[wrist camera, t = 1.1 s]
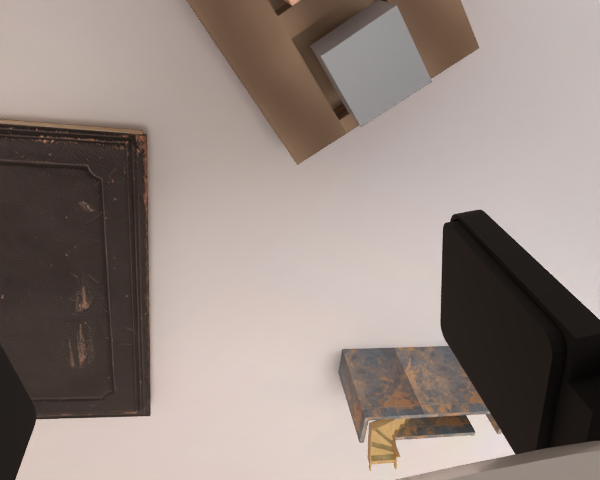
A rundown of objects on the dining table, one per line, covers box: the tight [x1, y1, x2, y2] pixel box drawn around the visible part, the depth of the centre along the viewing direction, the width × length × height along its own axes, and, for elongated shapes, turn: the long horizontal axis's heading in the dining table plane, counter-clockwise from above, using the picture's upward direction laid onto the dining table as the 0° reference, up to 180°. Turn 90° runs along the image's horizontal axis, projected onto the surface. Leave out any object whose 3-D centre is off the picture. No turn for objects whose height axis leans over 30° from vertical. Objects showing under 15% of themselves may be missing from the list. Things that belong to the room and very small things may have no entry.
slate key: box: [310, 0, 432, 127], centre depth 26 cm, size 4×4×3 cm
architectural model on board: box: [339, 346, 502, 471], centre depth 41 cm, size 11×3×10 cm, turn 85°
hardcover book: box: [0, 120, 151, 419], centre depth 35 cm, size 16×23×2 cm
